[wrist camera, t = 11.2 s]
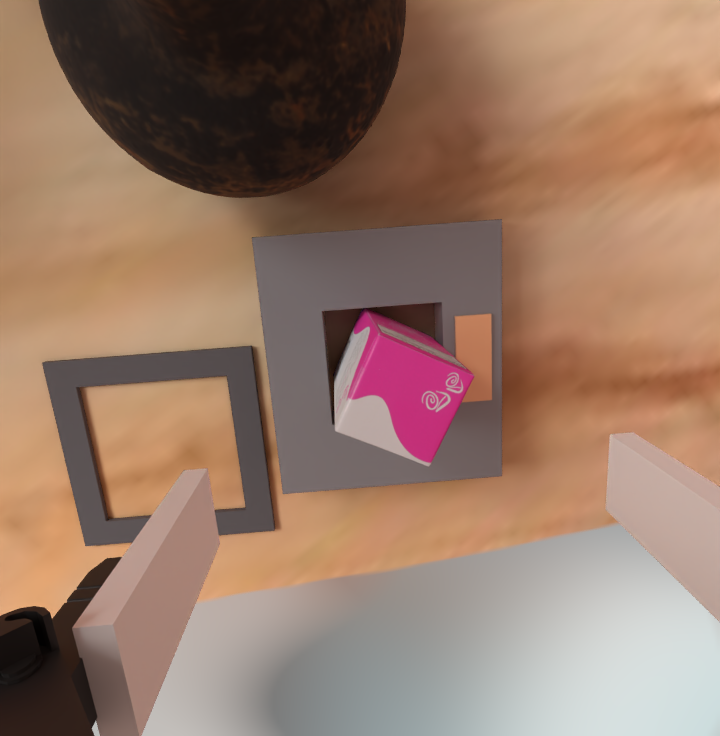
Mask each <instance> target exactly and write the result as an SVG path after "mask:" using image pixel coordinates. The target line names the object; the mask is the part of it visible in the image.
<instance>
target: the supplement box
mask: <svg viewBox="0 0 720 736" xmlns="http://www.w3.org/2000/svg"><path fill="white" fill-rule="evenodd" d="M333 376H334V410H335V431H336V432H338V433H341V434H344V435H346V436H349V437H352V438H355V439H357V440H360V441H363V442H365V443H368V444H371V445H373V446H376V447H379V448H381V449H384V450H387V451H390V452H392V453H395V454H398V455H400V456H403V457H405V458H408V459H410V460H413V461H415V462H418V463H421V464H423V465H426V466H430V465H431V463H432V460H433V459H434V457H435V455H436V453H437V451H438V449H439V447H440V445H441V443H442V441H443V439H444V437H445V435H446V433H447V431H448V429H449V427H450V425H451V423H452V420H453V418H454V416H455V414H456V413H457V411H458V409H459V407H460V405H461V402H462V400H463V398H464V397H465V394H466V392H467V390H468V388H469V386H470V384H471V382H472V380H473V379H474V374H473V373H472V372H471V371H470V370H468V369H467V368H466V367H465V366H464V365H463V364H462V363H461V362H459V361H458V360H457V359H456V358H455V357H454V356H453V355H452V354H450V353H449V352H448V351H447V350H446V349H445V348H444V347H442V346H441V345H440V344H439V343H438V342H437V341H436V340H435V339H433V338H432V337H431V336H429V335H427V334H425V333H423V332H420V331H418V330H416V329H414V328H411V327H409V326H407V325H405V324H402V323H400V322H398V321H396V320H393V319H391V318H389V317H387V316H384V315H382V314H380V313H377V312H375V311H373V310H370V309H368V308H363V309H362V311H361V312H360V314H359V316H358V319H357V321H356V323H355V325H354V327H353V329H352V332H351V334H350V336H349V339H348V341H347V343H346V345H345V348H344V350H343V352H342V355H341V357H340V359H339V362H338V364H337V367H336V369H335V372H334V374H333Z"/></svg>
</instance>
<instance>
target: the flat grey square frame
mask: <svg viewBox="0 0 720 736" xmlns="http://www.w3.org/2000/svg"><path fill="white" fill-rule="evenodd" d="M42 364H43V369H44V373H45V377H46V381H47V386H48V390H49V394H50V398H51V402H52V407H53V411H54V415H55V419H56V423H57V428H58V432H59V436H60V440H61V445H62V449H63V453H64V457H65V461H66V466H67V470H68V474H69V478H70V483H71V487H72V491H73V495H74V499H75V504H76V508H77V512H78V516H79V520H80V525H81V529H82V533H83V537H84V542H85V546H94V545H106V544H118V543H130V542H133V541H134V540H135V538H136V537H137V536H138V534H139V533H140V531H141V530H142V529H143V527H144V526H145V524H146V523H147V521H148V520H149V519H150V517H151V516H152V515H150V516H138V517H125V518H113V519H108V515H107V511H106V506H105V502H104V497H103V492H102V488H101V483H100V479H99V474H98V470H97V465H96V461H95V456H94V452H93V447H92V443H91V438H90V434H89V429H88V425H87V420H86V416H85V411H84V406H83V402H82V397H81V393H80V388H79V387H87V386H100V385H113V384H126V383H139V382H152V381H164V380H177V379H190V378H203V377H216V376H227V380H228V387H229V394H230V401H231V408H232V415H233V422H234V429H235V436H236V443H237V450H238V457H239V464H240V471H241V478H242V485H243V492H244V499H245V506H246V508H235V509H223V510H215V516H216V522H217V528H218V534H219V535H226V534H239V533H251V532H263V531H274V530H275V523H274V515H273V508H272V500H271V492H270V484H269V476H268V469H267V461H266V453H265V445H264V437H263V430H262V422H261V414H260V406H259V398H258V391H257V383H256V375H255V367H254V359H253V352H252V346H243V347H230V348H217V349H204V350H191V351H178V352H165V353H152V354H139V355H126V356H113V357H99V358H86V359H73V360H60V361H47V362H43V363H42Z"/></svg>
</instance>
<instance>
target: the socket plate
mask: <svg viewBox="0 0 720 736" xmlns="http://www.w3.org/2000/svg"><path fill="white" fill-rule="evenodd" d="M252 243H253V251H254V259H255V267H256V276H257V284H258V292H259V300H260V309H261V317H262V325H263V333H264V342H265V350H266V358H267V366H268V375H269V383H270V391H271V399H272V407H273V416H274V424H275V432H276V440H277V449H278V457H279V465H280V473H281V482H282V490H283V494H290V493H302V492H314V491H326V490H339V489H351V488H363V487H375V486H388V485H400V484H412V483H424V482H436V481H449V480H461V479H473V478H485V477H498V476H502V219H498V220H484V221H471V222H457V223H443V224H430V225H416V226H402V227H389V228H375V229H361V230H348V231H334V232H320V233H307V234H293V235H279V236H266V237H252ZM423 303H434V317H435V340H436V341H437V342H438V343H439V344H440V345H441V346H442V347H444V348H445V349H446V350H447V351H448V352H449V353H450V354H452V355H453V356H454V357H455V358H456V359H457V360H458V361H459V362H461V363H462V364H463V365H464V366H465V367H466V368H467V369H468V370H470V371H471V372H472V373H473V374H474V379H473V380H472V382H471V384H470V386H469V388H468V390H467V392H466V394H465V397H464V398H463V400H462V402H461V405H460V407H459V409H458V411H457V413H456V414H455V416H454V418H453V420H452V423H451V425H450V427H449V429H448V431H447V433H446V435H445V437H444V439H443V441H442V443H441V445H440V447H439V449H438V451H437V453H436V455H435V457H434V459H433V460H432V463H431V465H430V466H426V465H423V464H421V463H418V462H415V461H413V460H410V459H408V458H405V457H403V456H400V455H398V454H395V453H392V452H390V451H387V450H384V449H381V448H379V447H376V446H373V445H371V444H368V443H365V442H363V441H360V440H357V439H355V438H352V437H349V436H346V435H344V434H341V433H338V432H336V431H335V411H333V405H332V394H331V383H330V371H329V360H328V349H327V338H326V327H325V316H324V311H331V310H344V309H357V308H371V307H384V306H397V305H410V304H423Z"/></svg>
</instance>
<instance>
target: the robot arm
mask: <svg viewBox="0 0 720 736" xmlns="http://www.w3.org/2000/svg"><path fill="white" fill-rule="evenodd" d="M606 510H607V511H608V512H609V513H610V514H611V515H612V516H613V517H614V518H615V519H616V520H617V521H618V522H619V523H620V524H621V525H622V526H623V527H624V528H625V529H626V530H627V531H628V532H629V533H630V534H631V535H632V536H633V537H634V538H635V539H636V540H637V541H638V542H639V543H640V544H641V545H642V546H643V547H644V548H645V549H646V550H647V551H648V552H649V553H650V554H651V555H652V556H653V557H654V558H655V559H656V560H657V561H658V562H659V563H660V564H661V565H662V566H663V567H664V568H666V570H667V571H669V573H670V574H671V575H672V576H673V577H674V578H676V579H677V580H678V581H679V582H680V583H681V584H682V585H683V586H684V587H685V588H686V589H687V590H688V591H689V592H690V593H691V594H692V595H693V596H694V597H695V598H696V599H697V600H698V601H699V602H700V603H701V604H702V605H703V606H704V607H705V608H706V609H707V610H708V611H709V612H710V613H711V614H712V615H713V616H714V617H715V618H716V619H717V620H718V621H719V622H720V487H719V486H718V485H716V484H715V483H713V482H711V481H710V480H708V479H707V478H705V477H703V476H702V475H700V474H699V473H697V472H695V471H694V470H692V469H691V468H689V467H688V466H686V465H684V464H683V463H681V462H680V461H678V460H676V459H675V458H673V457H672V456H670V455H668V454H667V453H665V452H664V451H662V450H660V449H659V448H657V447H656V446H654V445H653V444H651V443H649V442H648V441H646V440H645V439H643V438H641V437H640V436H638V435H637V434H635V433H633V432H629V433H617V434H610V441H609V459H608V477H607V495H606ZM219 545H220V540H219V534H218V528H217V522H216V516H215V510H214V504H213V498H212V492H211V486H210V480H209V474H208V468H205V469H193V470H184V471H183V472H182V473H181V475H180V476H179V478H178V479H177V481H176V482H175V483H174V485H173V486H172V488H171V489H170V490H169V492H168V493H167V495H166V496H165V497H164V499H163V500H162V502H161V503H160V505H159V506H158V507H157V509H156V510H155V512H154V513H153V514H152V516H151V517H150V519H149V520H148V521H147V523H146V524H145V526H144V527H143V529H142V530H141V531H140V533H139V534H138V536H137V537H136V538H135V540H134V541H133V543H132V544H131V545H130V547H129V548H128V550H127V551H126V553H125V554H124V555H123V557H117V558H107V559H106V560H104V561H103V562H102V563H100V564H99V565H98V566H96V567H95V568H94V569H92V570H91V571H90V572H89V573H88V574H87V575H86V576H85V578H84V579H83V580H82V581H81V583H80V584H79V585H78V587H77V590H74V592H73V593H72V594H71V596H70V597H69V598H68V599H67V603H64V605H63V606H62V607H61V608H60V610H59V611H58V612H57V614H56V615H55V616H54V617H53V619H52V618H51V615H50V612H49V611H48V610H46V609H45V608H43V607H36V606H32V607H26V608H20V609H17V610H14V611H11V612H9V613H6V614H3V615H1V616H0V736H94V733H93V731H92V726H93V725H94V723H95V721H97V725H98V729H99V733H100V736H141V735H142V733H143V730H144V728H145V725H146V723H147V721H148V718H149V716H150V713H151V711H152V708H153V706H154V703H155V701H156V699H157V696H158V694H159V691H160V689H161V686H162V684H163V681H164V679H165V677H166V674H167V671H168V669H169V667H170V664H171V662H172V659H173V657H174V655H175V652H176V650H177V647H178V645H179V642H180V640H181V637H182V635H183V632H184V630H185V628H186V625H187V623H188V620H189V618H190V616H191V613H192V611H193V608H194V606H195V603H196V601H197V599H198V596H199V594H200V591H201V589H202V586H203V584H204V581H205V579H206V577H207V574H208V572H209V569H210V567H211V564H212V562H213V559H214V557H215V555H216V552H217V550H218V547H219Z"/></svg>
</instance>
